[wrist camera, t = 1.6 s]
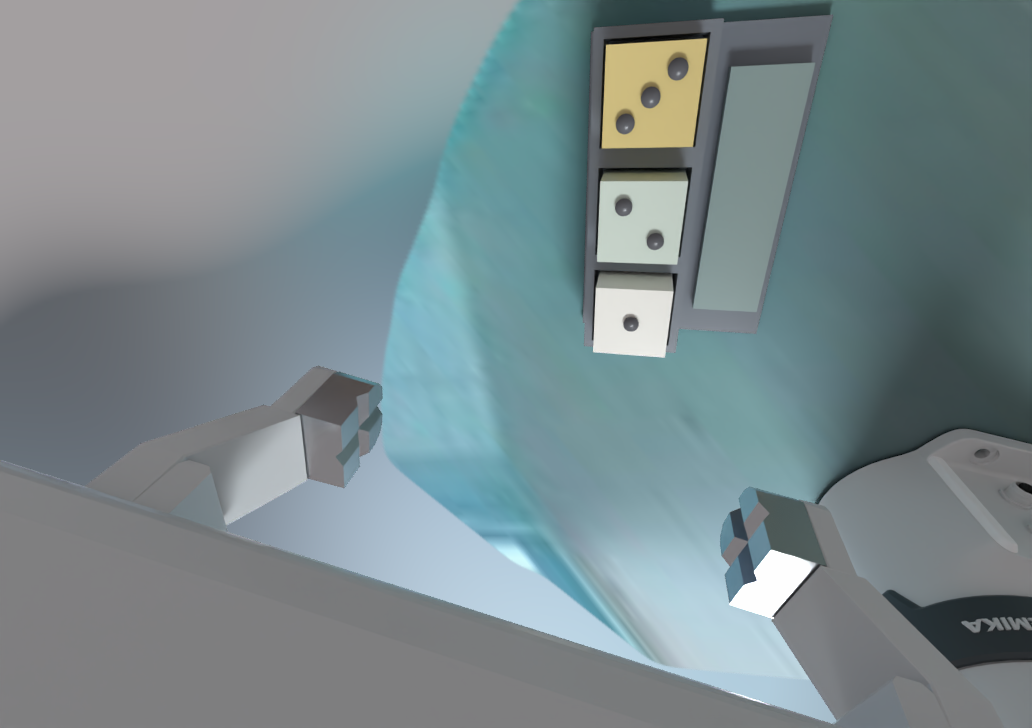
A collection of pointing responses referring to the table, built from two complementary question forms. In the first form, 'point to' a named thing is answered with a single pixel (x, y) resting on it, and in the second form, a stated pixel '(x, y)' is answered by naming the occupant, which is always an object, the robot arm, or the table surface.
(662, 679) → the robot arm
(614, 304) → the tile one
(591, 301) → the console
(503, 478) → the table surface
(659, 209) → the tile two
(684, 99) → the tile three
